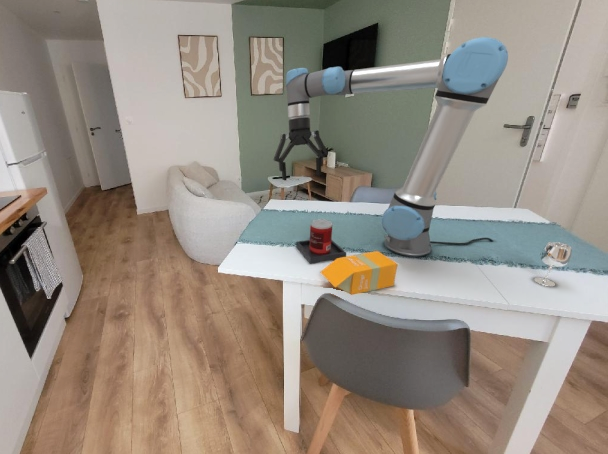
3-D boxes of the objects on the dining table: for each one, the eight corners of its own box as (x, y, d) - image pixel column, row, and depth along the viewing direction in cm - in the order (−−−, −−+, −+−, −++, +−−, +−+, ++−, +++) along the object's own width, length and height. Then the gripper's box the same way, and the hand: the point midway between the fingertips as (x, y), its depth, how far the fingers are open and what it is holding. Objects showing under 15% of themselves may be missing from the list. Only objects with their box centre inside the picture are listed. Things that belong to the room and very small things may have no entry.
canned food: (328, 245, 111) (330, 218, 107) (332, 255, 104) (334, 227, 100) (308, 245, 112) (309, 219, 108) (310, 255, 105) (311, 227, 100)
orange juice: (393, 286, 87) (334, 299, 82) (374, 271, 95) (319, 282, 90) (398, 263, 84) (336, 275, 79) (377, 250, 92) (320, 260, 87)
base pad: (328, 242, 115) (328, 237, 115) (345, 258, 103) (346, 252, 102) (296, 247, 113) (296, 241, 112) (310, 263, 101) (310, 258, 100)
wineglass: (525, 277, 88) (539, 241, 83) (543, 276, 88) (558, 240, 83) (545, 288, 82) (561, 251, 78) (564, 286, 83) (580, 249, 78)
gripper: (327, 115, 108) (328, 172, 114) (262, 122, 105) (267, 180, 111) (336, 113, 101) (337, 174, 107) (267, 120, 98) (272, 183, 104)
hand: (301, 177), depth 109 cm, fingers open, 13 cm apart
